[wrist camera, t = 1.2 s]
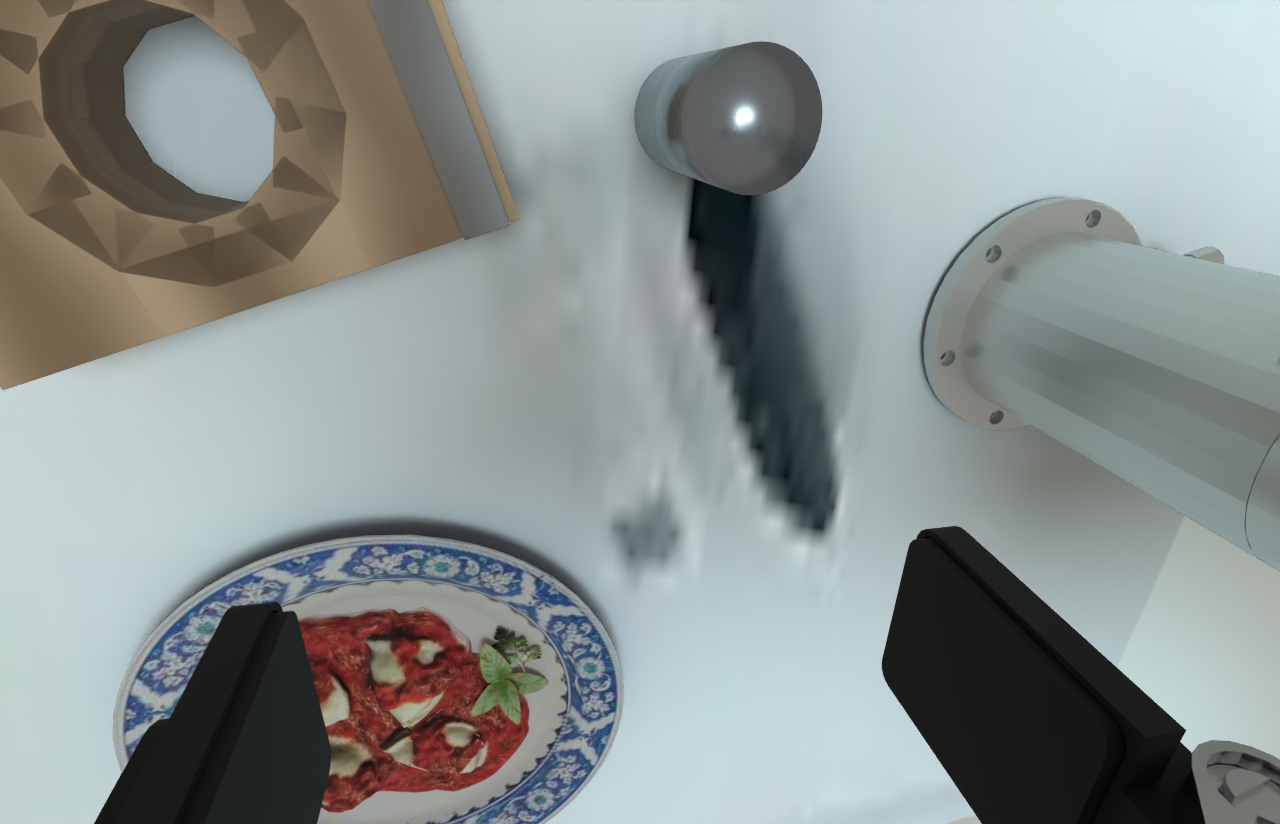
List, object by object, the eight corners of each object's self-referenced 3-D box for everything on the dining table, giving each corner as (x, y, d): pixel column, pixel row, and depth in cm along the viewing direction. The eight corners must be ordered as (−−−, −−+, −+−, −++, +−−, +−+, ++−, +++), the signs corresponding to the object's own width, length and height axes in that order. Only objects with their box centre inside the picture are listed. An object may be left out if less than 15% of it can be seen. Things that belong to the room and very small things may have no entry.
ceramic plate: (220, 890, 41) (202, 944, 38) (45, 557, 30) (4, 602, 27) (625, 796, 46) (634, 838, 43) (605, 478, 35) (616, 509, 32)
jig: (384, -158, 22) (357, -233, 17) (513, 199, 28) (520, 221, 23) (-171, -1, 21) (-374, -32, 16) (82, 341, 26) (-9, 397, 21)
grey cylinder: (723, 42, 27) (811, 22, 20) (744, 154, 29) (830, 171, 22) (621, 75, 27) (674, 66, 19) (650, 185, 29) (707, 213, 22)
